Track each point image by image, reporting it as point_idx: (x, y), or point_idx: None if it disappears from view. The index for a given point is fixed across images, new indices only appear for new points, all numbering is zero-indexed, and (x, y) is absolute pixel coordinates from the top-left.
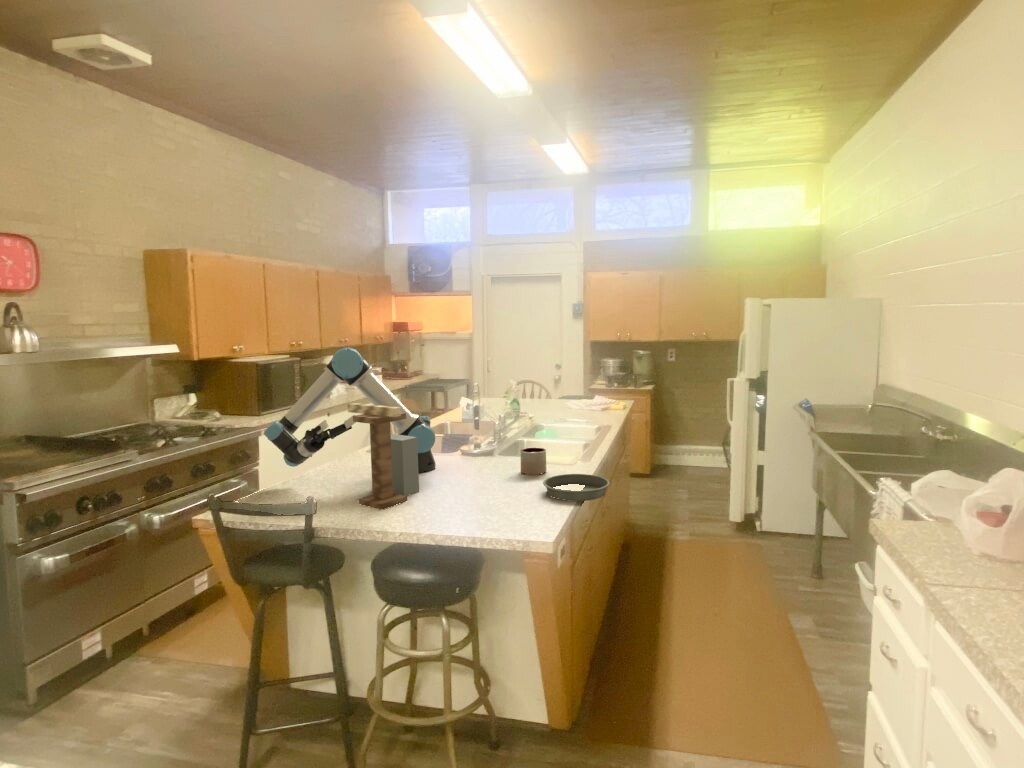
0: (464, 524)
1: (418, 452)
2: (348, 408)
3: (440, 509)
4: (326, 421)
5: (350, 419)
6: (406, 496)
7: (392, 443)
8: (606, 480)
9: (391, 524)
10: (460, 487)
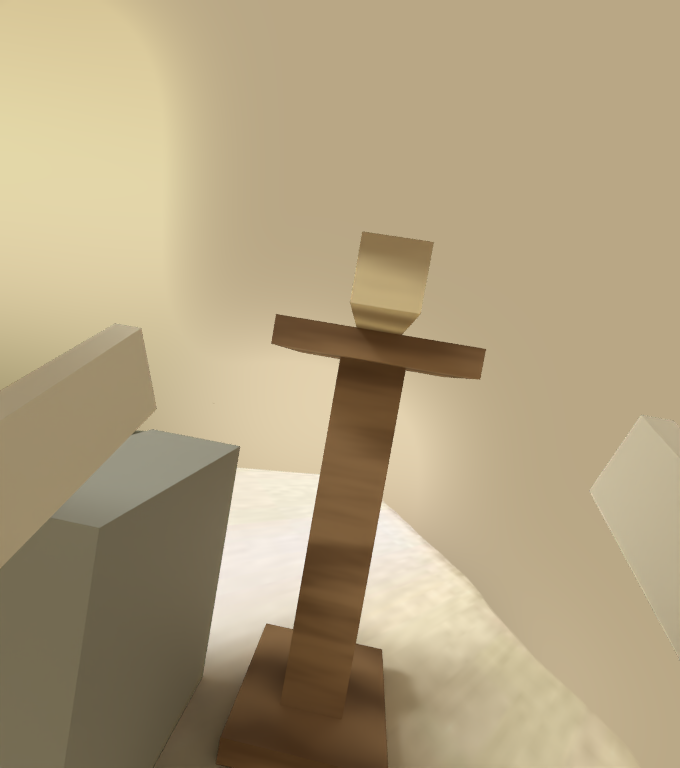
0: None
1: None
2: (425, 284)
3: (300, 561)
4: (627, 435)
5: (85, 400)
6: (268, 625)
7: (213, 480)
8: (137, 431)
9: (445, 602)
10: None
